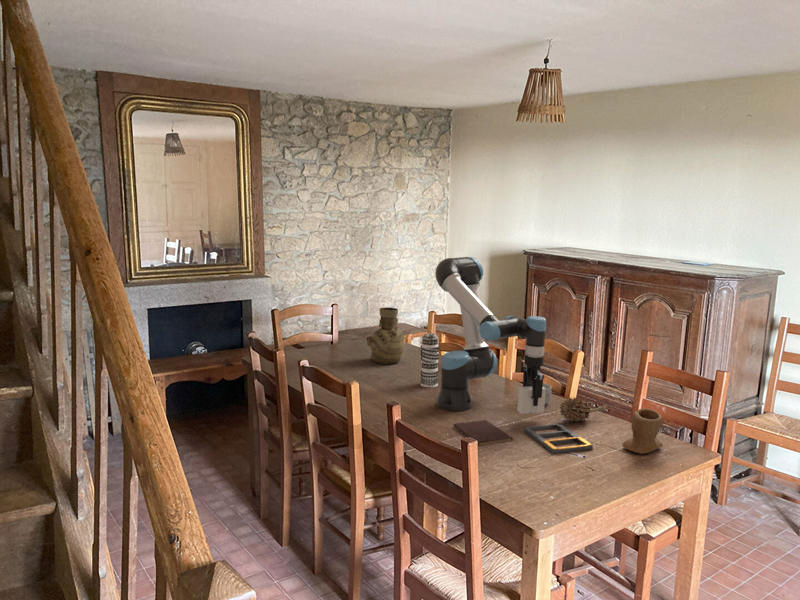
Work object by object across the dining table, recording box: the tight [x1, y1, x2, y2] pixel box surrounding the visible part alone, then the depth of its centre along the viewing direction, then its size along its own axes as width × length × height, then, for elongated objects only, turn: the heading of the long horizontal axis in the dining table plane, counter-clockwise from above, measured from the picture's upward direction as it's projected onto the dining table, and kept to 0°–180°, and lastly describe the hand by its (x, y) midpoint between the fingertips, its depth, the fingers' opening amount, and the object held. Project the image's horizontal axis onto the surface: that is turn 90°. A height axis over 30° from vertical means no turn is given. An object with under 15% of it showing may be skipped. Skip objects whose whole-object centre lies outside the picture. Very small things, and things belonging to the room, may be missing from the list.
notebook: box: [452, 419, 514, 446], centre depth 236 cm, size 15×20×2 cm
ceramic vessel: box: [366, 306, 405, 365], centre depth 336 cm, size 19×21×30 cm
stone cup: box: [622, 408, 664, 455], centre depth 221 cm, size 15×12×15 cm
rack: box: [522, 423, 594, 455], centre depth 230 cm, size 16×23×2 cm
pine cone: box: [558, 397, 609, 422], centre depth 251 cm, size 22×10×10 cm, turn 110°
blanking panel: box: [516, 386, 546, 415], centre depth 248 cm, size 10×4×10 cm, turn 106°
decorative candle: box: [420, 332, 440, 388], centre depth 295 cm, size 9×9×25 cm
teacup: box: [543, 382, 553, 405], centre depth 273 cm, size 14×11×8 cm
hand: (530, 410), depth 249 cm, fingers closed on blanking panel, 4 cm apart
